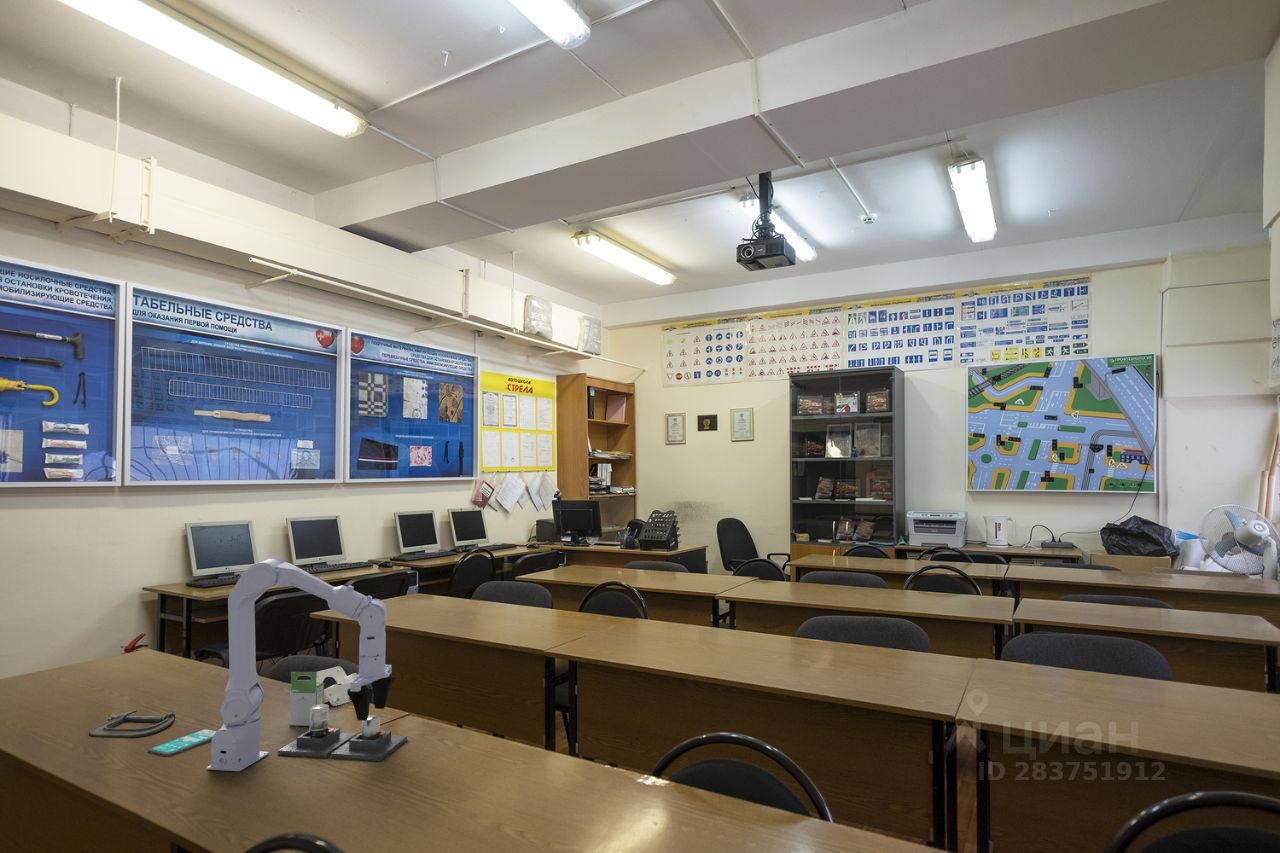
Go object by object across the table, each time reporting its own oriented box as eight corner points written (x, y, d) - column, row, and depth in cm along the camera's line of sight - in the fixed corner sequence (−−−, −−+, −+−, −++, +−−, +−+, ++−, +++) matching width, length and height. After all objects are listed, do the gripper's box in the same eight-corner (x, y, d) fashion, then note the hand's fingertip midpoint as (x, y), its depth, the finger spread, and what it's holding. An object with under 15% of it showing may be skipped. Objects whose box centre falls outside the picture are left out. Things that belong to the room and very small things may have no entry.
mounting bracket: (358, 700, 198) (350, 663, 201) (370, 695, 195) (362, 657, 198) (318, 712, 188) (310, 673, 191) (331, 706, 185) (322, 667, 188)
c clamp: (70, 737, 167) (70, 725, 168) (134, 713, 184) (134, 702, 185) (140, 742, 164) (140, 730, 164) (199, 717, 181) (199, 706, 181)
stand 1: (326, 757, 153) (327, 740, 153) (277, 755, 155) (278, 738, 155) (356, 737, 165) (356, 721, 165) (310, 735, 166) (311, 719, 167)
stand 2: (381, 761, 151) (381, 743, 151) (330, 758, 153) (331, 741, 153) (407, 740, 163) (407, 724, 163) (360, 737, 164) (360, 721, 165)
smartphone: (231, 731, 168) (169, 754, 154) (231, 735, 168) (169, 758, 154) (207, 726, 171) (144, 748, 157) (207, 730, 171) (144, 753, 157)
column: (374, 748, 155) (374, 721, 156) (357, 747, 156) (357, 720, 156) (383, 741, 159) (383, 715, 160) (366, 740, 160) (367, 714, 160)
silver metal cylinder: (321, 736, 157) (322, 710, 158) (305, 736, 158) (306, 709, 158) (332, 730, 162) (332, 704, 162) (316, 729, 162) (316, 703, 163)
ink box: (323, 721, 176) (325, 668, 177) (314, 727, 172) (316, 672, 173) (298, 720, 176) (299, 667, 177) (288, 726, 173) (290, 671, 173)
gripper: (371, 663, 151) (370, 726, 150) (403, 646, 166) (402, 704, 165) (342, 662, 152) (341, 724, 152) (376, 645, 167) (375, 702, 166)
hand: (371, 713), depth 158 cm, fingers open, 7 cm apart
